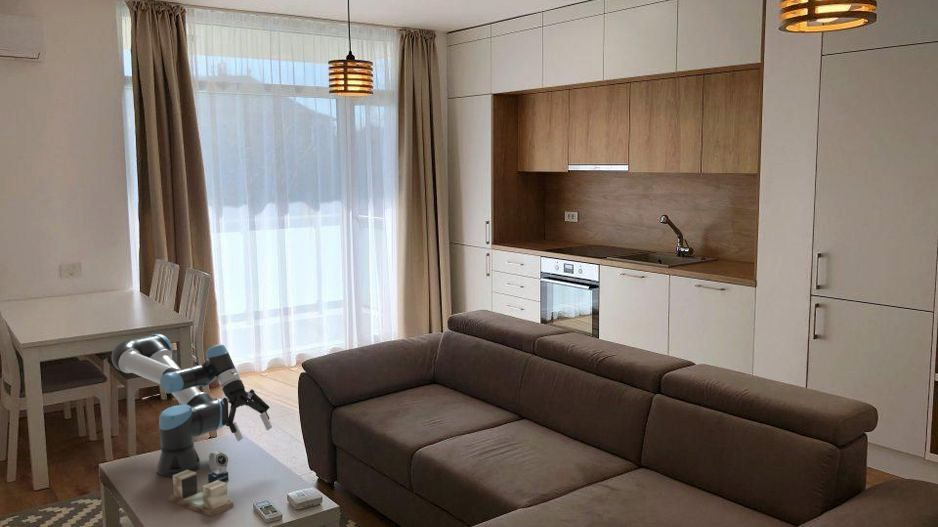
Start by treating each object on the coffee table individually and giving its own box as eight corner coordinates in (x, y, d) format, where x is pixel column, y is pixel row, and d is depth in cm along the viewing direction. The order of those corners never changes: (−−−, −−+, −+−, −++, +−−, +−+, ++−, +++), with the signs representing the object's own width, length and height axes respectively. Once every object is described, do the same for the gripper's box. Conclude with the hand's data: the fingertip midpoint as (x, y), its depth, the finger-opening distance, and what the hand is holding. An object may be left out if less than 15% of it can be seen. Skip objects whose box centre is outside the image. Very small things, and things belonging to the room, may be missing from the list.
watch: (218, 486, 278) (216, 457, 276) (205, 481, 283) (203, 452, 281) (232, 481, 282) (230, 452, 281) (218, 476, 287) (217, 447, 285)
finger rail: (168, 499, 267) (167, 476, 266) (191, 490, 275) (189, 467, 273) (211, 516, 254) (209, 491, 253) (233, 506, 262) (232, 482, 260)
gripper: (208, 387, 279) (232, 440, 274) (262, 371, 299) (286, 420, 294) (198, 396, 283) (222, 448, 278) (252, 379, 303) (276, 428, 298)
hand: (255, 434), depth 286 cm, fingers open, 13 cm apart
